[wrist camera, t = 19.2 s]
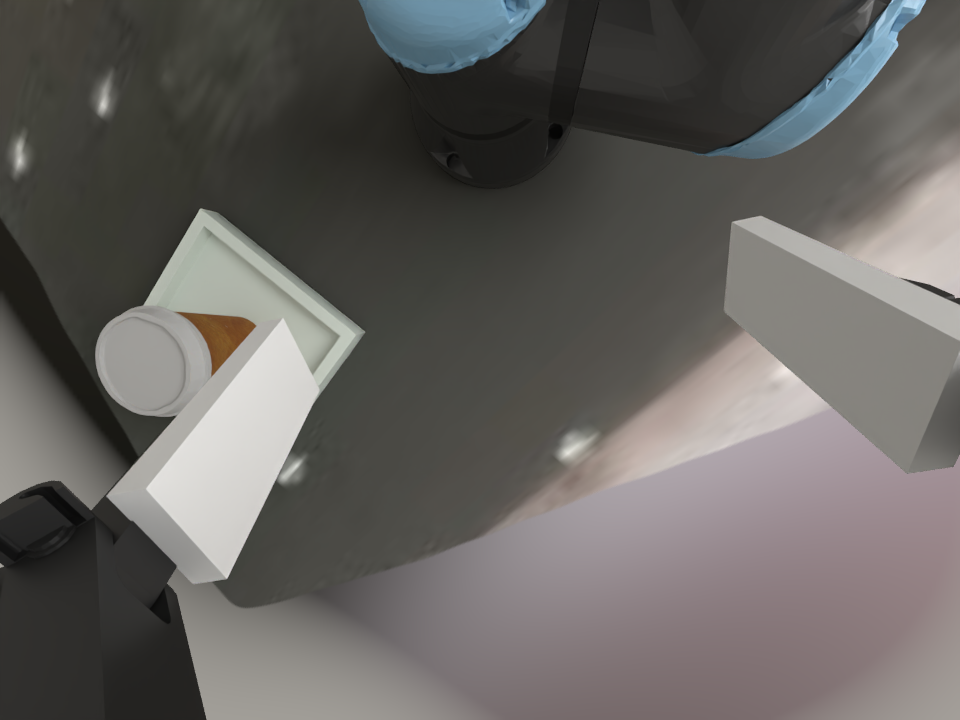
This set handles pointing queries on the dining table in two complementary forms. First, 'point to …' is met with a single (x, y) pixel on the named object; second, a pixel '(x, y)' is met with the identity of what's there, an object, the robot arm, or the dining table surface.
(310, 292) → the tray
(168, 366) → the disposable coffee cup
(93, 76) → the dining table surface
